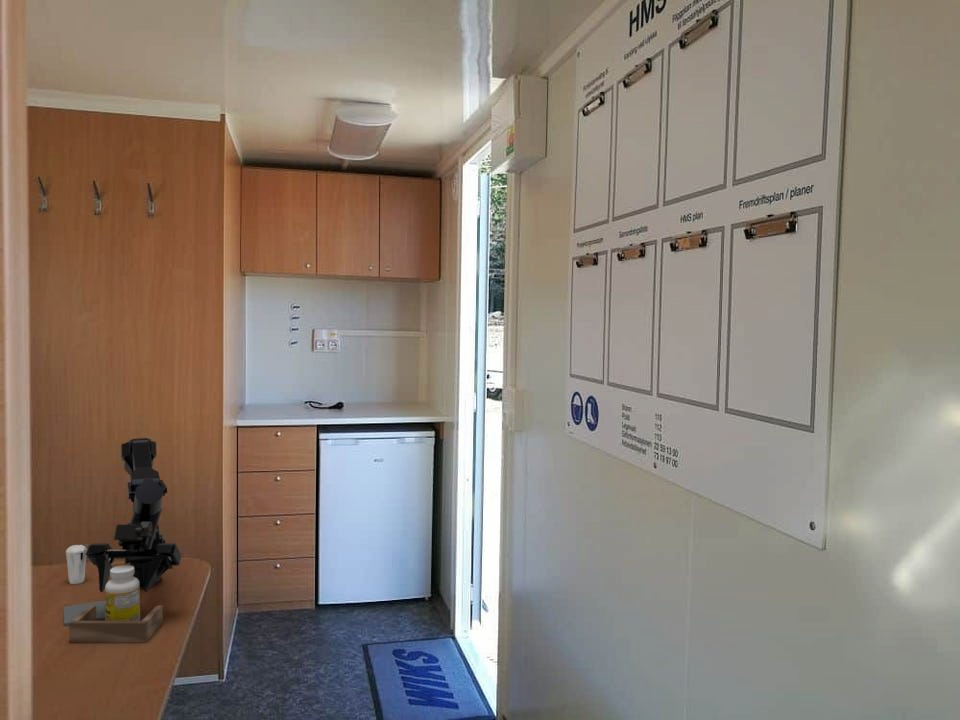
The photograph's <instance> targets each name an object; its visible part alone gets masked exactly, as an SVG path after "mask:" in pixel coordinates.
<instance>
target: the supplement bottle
mask: <svg viewBox="0 0 960 720" xmlns="http://www.w3.org/2000/svg"><path fill="white" fill-rule="evenodd" d="M134 572H135V571H134V566H131V565H130V564H124V565H123V564H122V565H117V566H114V567H113V568H112V569H111V570H110V576H109V577H110V578H111V579H110V580H108V582H107V584H106V586H105V589H104V597H105V599H104V600H105V619H104V621H141V607H140V606H141V604H140V603H141V602H140V601H141V600H140V598H141V597H140V596H141V595H140V593H141V591H140V589H141V588H140V583H139V580H138V579H137V578H136V577H133V575H134Z"/></svg>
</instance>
